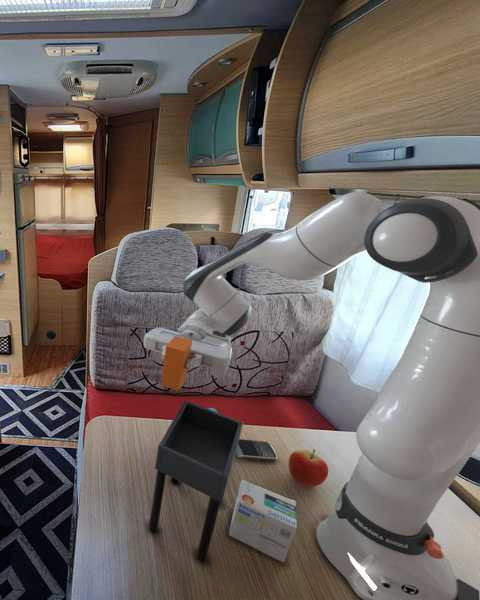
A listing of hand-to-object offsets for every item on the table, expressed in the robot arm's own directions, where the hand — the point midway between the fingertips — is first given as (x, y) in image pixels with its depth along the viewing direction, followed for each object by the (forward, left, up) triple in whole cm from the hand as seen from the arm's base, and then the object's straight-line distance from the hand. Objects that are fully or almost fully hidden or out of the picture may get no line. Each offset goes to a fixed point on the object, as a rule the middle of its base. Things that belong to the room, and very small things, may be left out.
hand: (175, 362), depth 73 cm
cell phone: (-19, -22, -34) cm, 45 cm away
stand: (-9, +7, -34) cm, 36 cm away
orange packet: (0, -1, -6) cm, 6 cm away
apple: (-31, -19, -34) cm, 50 cm away
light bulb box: (-23, +3, -34) cm, 41 cm away
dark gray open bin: (-9, +7, -16) cm, 20 cm away
